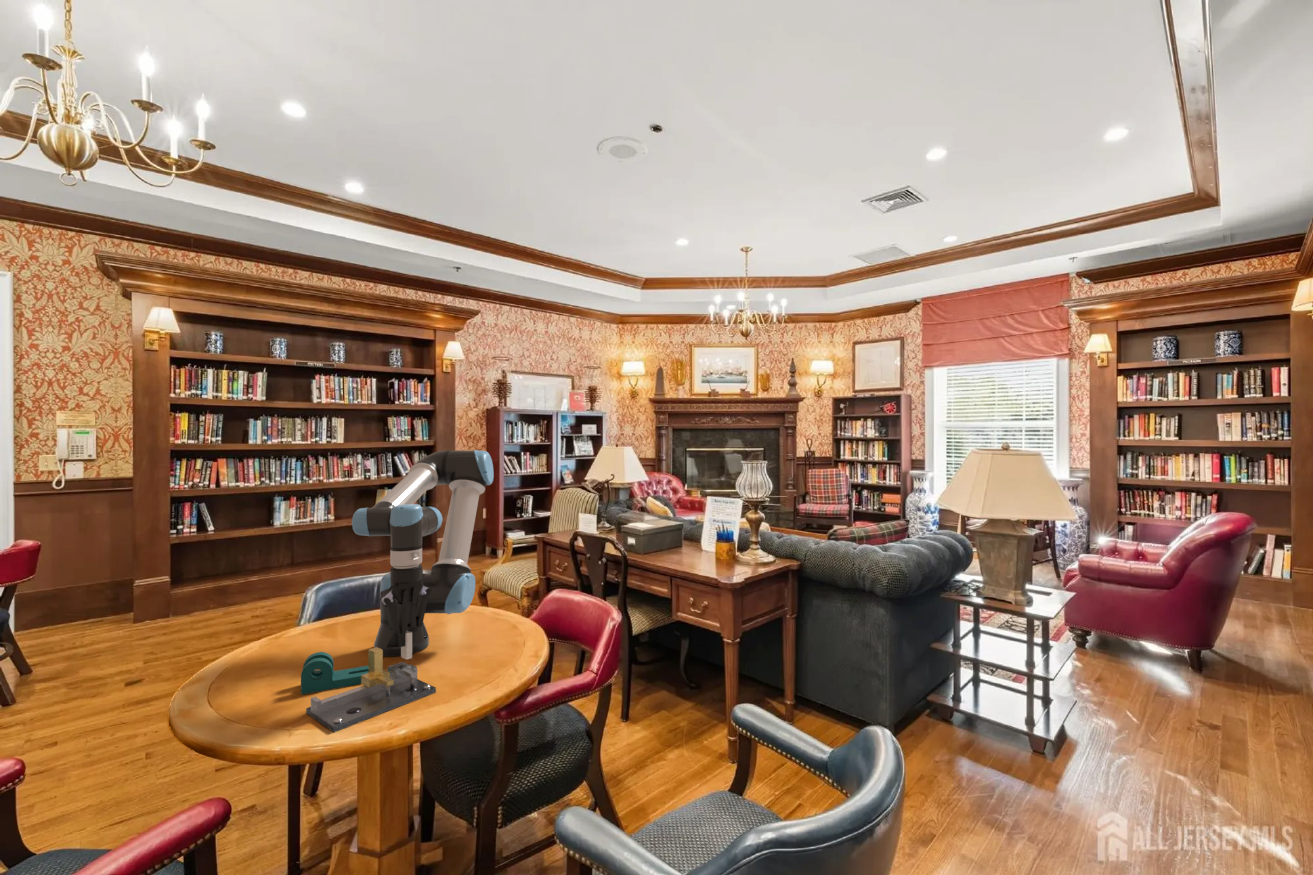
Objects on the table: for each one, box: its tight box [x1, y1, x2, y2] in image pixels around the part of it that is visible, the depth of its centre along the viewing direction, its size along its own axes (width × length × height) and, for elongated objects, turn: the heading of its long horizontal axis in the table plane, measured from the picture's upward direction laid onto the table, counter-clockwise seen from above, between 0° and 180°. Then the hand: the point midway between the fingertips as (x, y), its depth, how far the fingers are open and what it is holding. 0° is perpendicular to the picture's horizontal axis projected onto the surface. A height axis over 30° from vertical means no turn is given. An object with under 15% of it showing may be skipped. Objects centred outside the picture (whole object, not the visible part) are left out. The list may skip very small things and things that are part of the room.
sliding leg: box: [360, 647, 394, 697], centre depth 138 cm, size 9×5×10 cm, turn 53°
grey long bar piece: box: [310, 661, 418, 715], centre depth 136 cm, size 9×24×4 cm, turn 143°
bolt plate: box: [305, 678, 437, 733], centre depth 136 cm, size 14×24×2 cm, turn 143°
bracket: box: [300, 651, 368, 696], centre depth 147 cm, size 18×7×8 cm, turn 117°
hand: (406, 657), depth 146 cm, fingers closed
